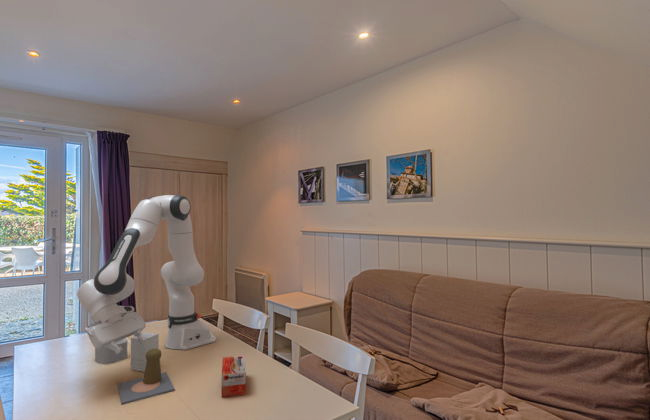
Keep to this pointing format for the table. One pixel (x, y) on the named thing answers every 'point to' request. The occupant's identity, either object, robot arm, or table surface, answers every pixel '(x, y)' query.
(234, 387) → the medicine box
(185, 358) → the table surface
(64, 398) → the table surface
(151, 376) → the cork
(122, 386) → the card
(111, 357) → the lumpy-topped squat cylinder
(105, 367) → the table surface
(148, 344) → the supplement box
